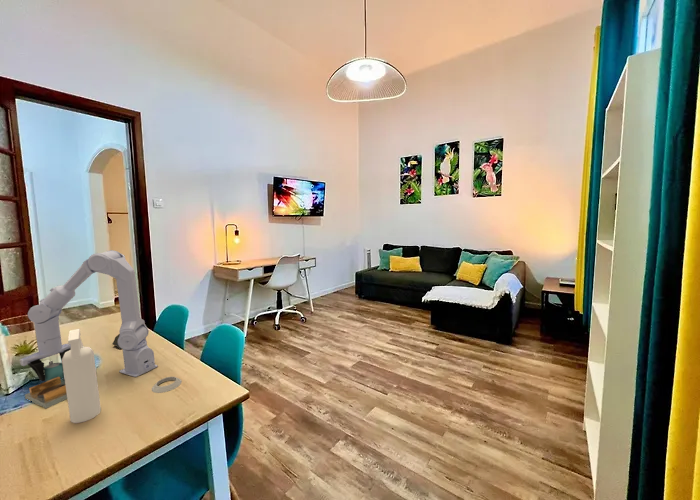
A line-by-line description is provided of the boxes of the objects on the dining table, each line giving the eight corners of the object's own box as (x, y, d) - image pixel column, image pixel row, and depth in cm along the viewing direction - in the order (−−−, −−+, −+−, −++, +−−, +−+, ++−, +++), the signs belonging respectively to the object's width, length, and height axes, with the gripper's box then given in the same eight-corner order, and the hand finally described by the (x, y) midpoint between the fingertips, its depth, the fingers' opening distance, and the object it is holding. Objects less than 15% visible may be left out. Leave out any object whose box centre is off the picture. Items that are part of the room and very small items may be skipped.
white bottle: (103, 397, 92) (90, 320, 88) (102, 419, 82) (87, 334, 78) (73, 407, 88) (58, 326, 84) (69, 431, 78) (51, 342, 74)
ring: (155, 382, 101) (155, 377, 101) (183, 377, 104) (183, 372, 104) (148, 396, 93) (147, 391, 93) (179, 390, 96) (178, 385, 96)
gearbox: (90, 388, 97) (89, 378, 97) (45, 408, 87) (44, 397, 87) (70, 380, 102) (68, 371, 102) (25, 399, 92) (23, 388, 92)
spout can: (66, 377, 104) (64, 360, 103) (49, 384, 100) (47, 366, 99) (59, 375, 106) (57, 358, 105) (43, 381, 102) (40, 364, 101)
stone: (110, 352, 124) (108, 340, 123) (116, 340, 135) (115, 328, 135) (130, 348, 127) (128, 336, 126) (135, 337, 139) (133, 326, 138)
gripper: (69, 328, 109) (73, 363, 111) (12, 344, 96) (19, 384, 98) (80, 331, 107) (84, 367, 108) (23, 348, 93) (30, 388, 95)
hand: (54, 375), depth 103 cm, fingers open, 6 cm apart
